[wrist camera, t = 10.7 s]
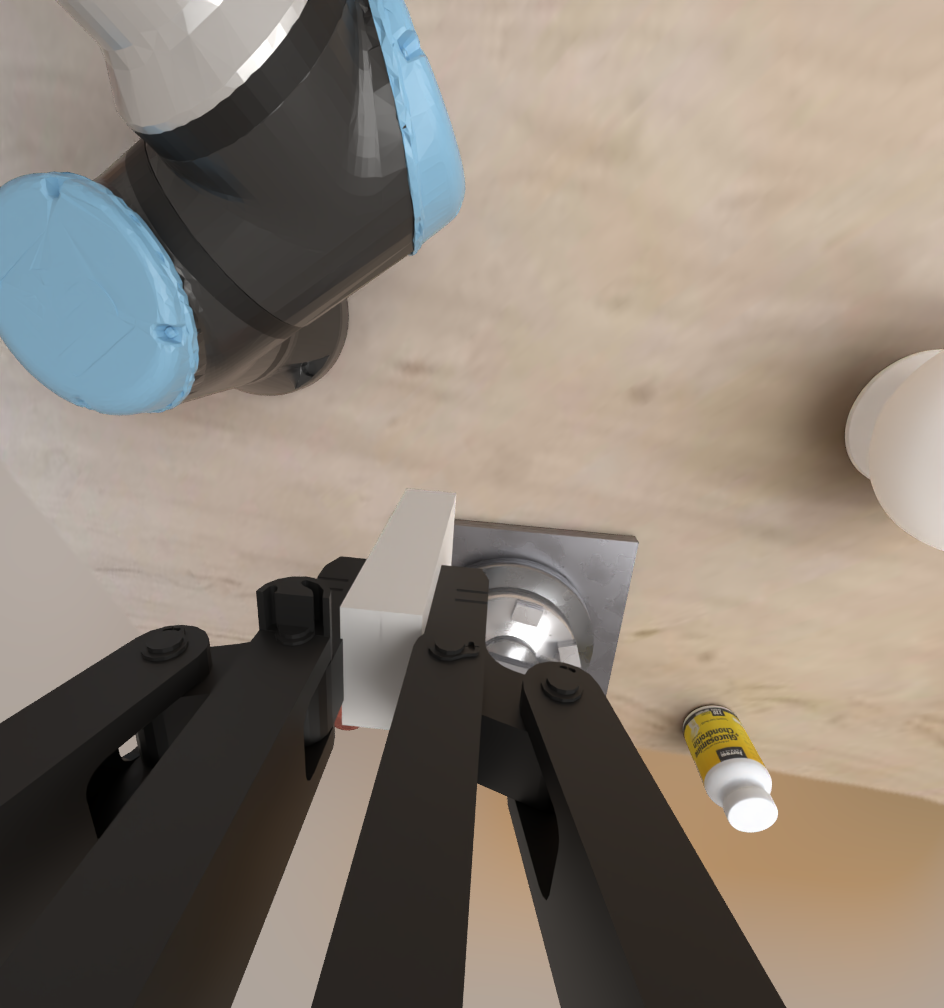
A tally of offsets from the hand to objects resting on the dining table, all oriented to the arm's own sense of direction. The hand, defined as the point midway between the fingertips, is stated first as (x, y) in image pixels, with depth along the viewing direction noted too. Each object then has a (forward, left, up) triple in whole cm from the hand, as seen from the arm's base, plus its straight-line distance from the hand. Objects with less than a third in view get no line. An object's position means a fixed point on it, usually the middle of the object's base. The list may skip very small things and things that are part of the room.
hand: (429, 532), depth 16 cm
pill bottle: (+30, -37, -35) cm, 59 cm away
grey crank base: (+5, -26, -34) cm, 43 cm away
